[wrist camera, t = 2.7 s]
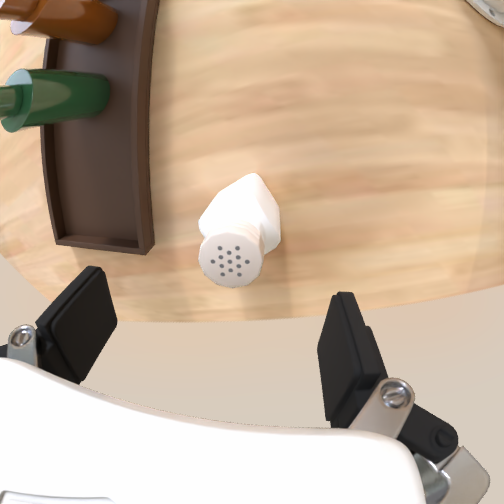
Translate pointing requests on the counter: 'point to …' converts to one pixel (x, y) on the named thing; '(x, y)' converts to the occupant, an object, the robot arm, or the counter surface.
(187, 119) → the counter surface
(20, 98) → the green bottle
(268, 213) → the salt shaker
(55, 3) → the amber bottle
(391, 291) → the counter surface
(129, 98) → the tray
